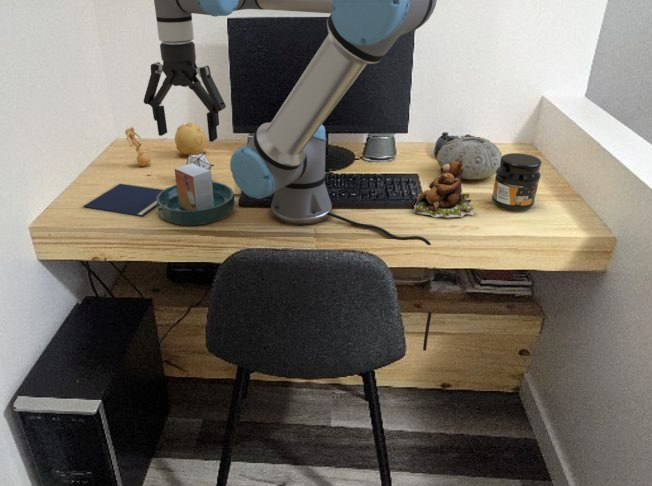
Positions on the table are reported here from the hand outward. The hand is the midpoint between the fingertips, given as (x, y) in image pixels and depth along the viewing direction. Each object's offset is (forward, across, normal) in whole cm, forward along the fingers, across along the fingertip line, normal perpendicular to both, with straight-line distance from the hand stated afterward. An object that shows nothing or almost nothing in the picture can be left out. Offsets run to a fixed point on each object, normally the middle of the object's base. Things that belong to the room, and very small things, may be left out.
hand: (187, 137), depth 131 cm
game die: (+19, +9, -18) cm, 28 cm away
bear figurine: (+19, -59, -21) cm, 66 cm away
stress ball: (+19, +22, -37) cm, 47 cm away
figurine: (+19, +32, -23) cm, 44 cm away
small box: (+19, 0, 0) cm, 19 cm away
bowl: (+19, 0, 0) cm, 19 cm away
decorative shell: (+19, -63, -47) cm, 81 cm away
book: (+19, +20, 0) cm, 27 cm away
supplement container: (+19, -76, -29) cm, 84 cm away
